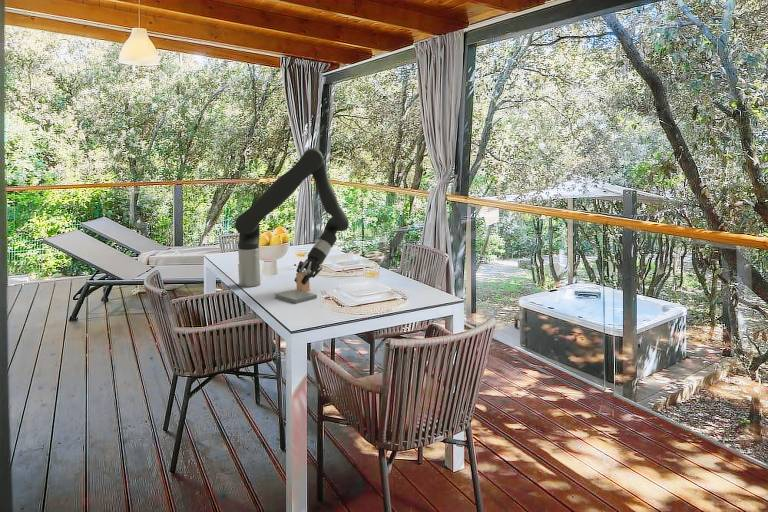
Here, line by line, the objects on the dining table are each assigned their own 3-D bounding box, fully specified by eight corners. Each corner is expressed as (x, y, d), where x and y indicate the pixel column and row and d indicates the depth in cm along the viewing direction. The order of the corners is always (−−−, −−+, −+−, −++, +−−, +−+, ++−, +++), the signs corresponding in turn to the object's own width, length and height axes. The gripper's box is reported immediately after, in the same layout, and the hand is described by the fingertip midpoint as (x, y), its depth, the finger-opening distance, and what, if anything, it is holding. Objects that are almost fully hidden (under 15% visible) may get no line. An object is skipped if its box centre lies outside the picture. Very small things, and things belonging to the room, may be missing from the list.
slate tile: (275, 297, 230) (275, 294, 230) (295, 292, 238) (295, 289, 238) (296, 303, 221) (296, 299, 221) (316, 298, 229) (316, 294, 229)
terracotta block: (296, 290, 241) (296, 273, 239) (303, 289, 244) (303, 271, 242) (302, 292, 238) (301, 274, 237) (309, 290, 241) (309, 273, 240)
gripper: (304, 245, 248) (284, 275, 241) (325, 248, 238) (304, 280, 232) (314, 254, 252) (294, 285, 246) (334, 258, 243) (314, 290, 236)
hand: (299, 282), depth 239 cm, fingers closed on terracotta block, 4 cm apart
